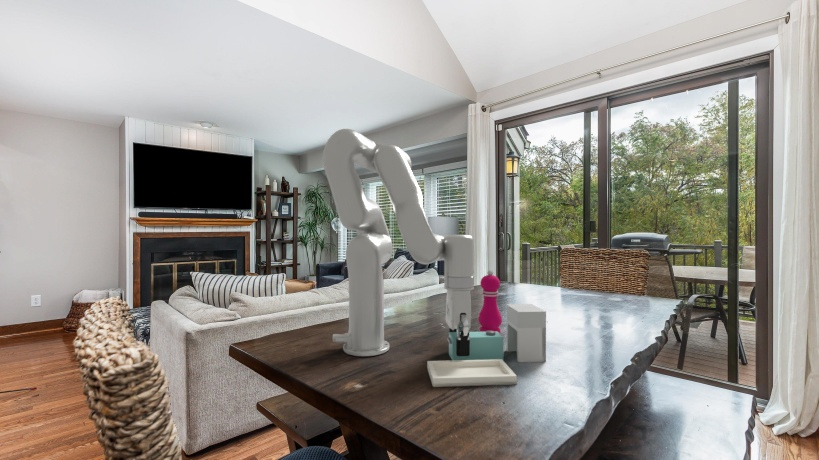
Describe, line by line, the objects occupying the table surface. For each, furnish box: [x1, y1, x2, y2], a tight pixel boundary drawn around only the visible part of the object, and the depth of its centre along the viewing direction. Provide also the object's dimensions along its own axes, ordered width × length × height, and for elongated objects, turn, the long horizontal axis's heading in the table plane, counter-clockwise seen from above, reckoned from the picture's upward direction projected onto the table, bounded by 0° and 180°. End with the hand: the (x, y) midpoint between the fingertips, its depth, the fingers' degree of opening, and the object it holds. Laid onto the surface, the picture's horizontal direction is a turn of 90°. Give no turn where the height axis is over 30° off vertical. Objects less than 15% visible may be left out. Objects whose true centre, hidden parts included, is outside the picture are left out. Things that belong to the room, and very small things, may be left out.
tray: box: [426, 359, 518, 388], centre depth 83 cm, size 18×10×2 cm, turn 94°
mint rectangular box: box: [446, 331, 504, 361], centre depth 96 cm, size 14×5×7 cm, turn 94°
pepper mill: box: [478, 269, 503, 334], centre depth 116 cm, size 7×7×20 cm
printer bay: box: [505, 303, 547, 363], centre depth 97 cm, size 7×9×12 cm
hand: (458, 349), depth 95 cm, fingers open, 9 cm apart
